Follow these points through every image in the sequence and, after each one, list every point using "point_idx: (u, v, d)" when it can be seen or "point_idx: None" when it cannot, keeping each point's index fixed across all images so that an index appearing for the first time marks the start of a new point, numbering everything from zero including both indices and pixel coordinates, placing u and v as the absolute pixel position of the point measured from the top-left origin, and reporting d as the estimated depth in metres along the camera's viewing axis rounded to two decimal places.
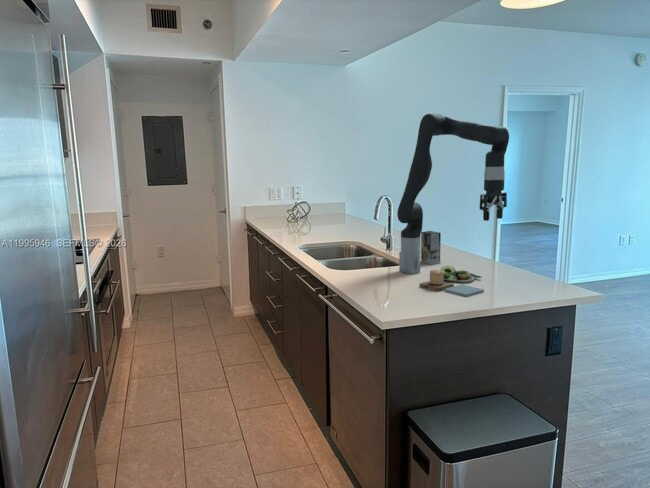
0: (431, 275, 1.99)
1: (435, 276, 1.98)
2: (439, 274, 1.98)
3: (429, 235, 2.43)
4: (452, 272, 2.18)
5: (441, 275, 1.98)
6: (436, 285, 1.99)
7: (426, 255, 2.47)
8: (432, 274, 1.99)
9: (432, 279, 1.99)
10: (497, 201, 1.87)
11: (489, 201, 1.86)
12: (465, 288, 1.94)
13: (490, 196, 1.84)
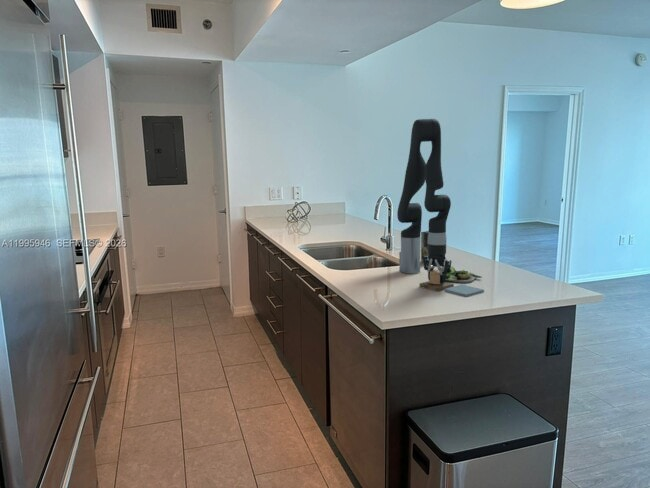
0: (431, 275, 1.99)
1: (435, 276, 1.98)
2: (439, 274, 1.98)
3: None
4: (452, 272, 2.18)
5: None
6: (436, 285, 1.99)
7: (426, 255, 2.47)
8: (432, 274, 1.99)
9: (432, 279, 1.99)
10: None
11: (441, 264, 1.98)
12: (465, 288, 1.94)
13: None
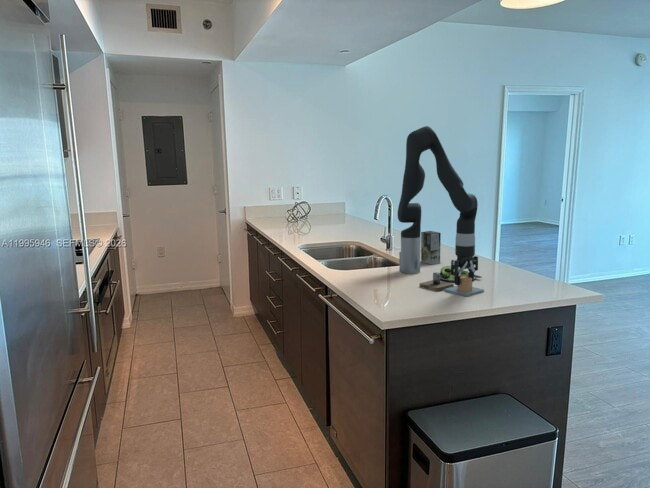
0: (469, 282, 1.90)
1: None
2: None
3: (429, 235, 2.43)
4: None
5: None
6: (436, 285, 1.99)
7: (426, 255, 2.47)
8: (470, 281, 1.90)
9: (470, 286, 1.90)
10: None
11: None
12: None
13: None
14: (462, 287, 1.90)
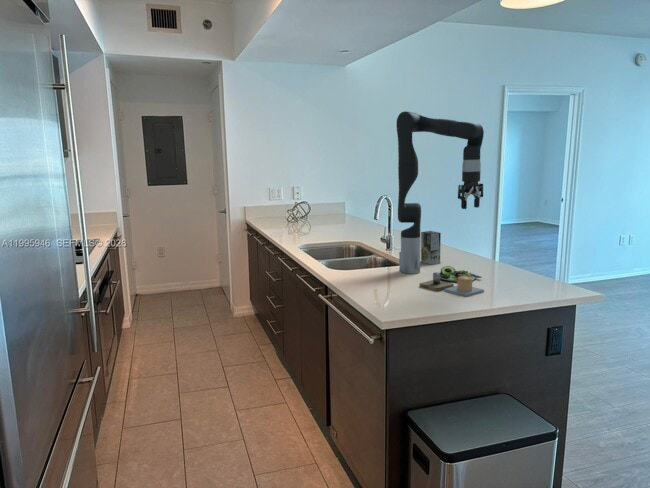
0: (469, 282, 1.90)
1: None
2: None
3: (429, 235, 2.43)
4: (452, 272, 2.18)
5: None
6: (436, 285, 1.99)
7: (426, 255, 2.47)
8: (470, 281, 1.90)
9: (470, 286, 1.90)
10: None
11: None
12: None
13: None
14: (462, 287, 1.90)
